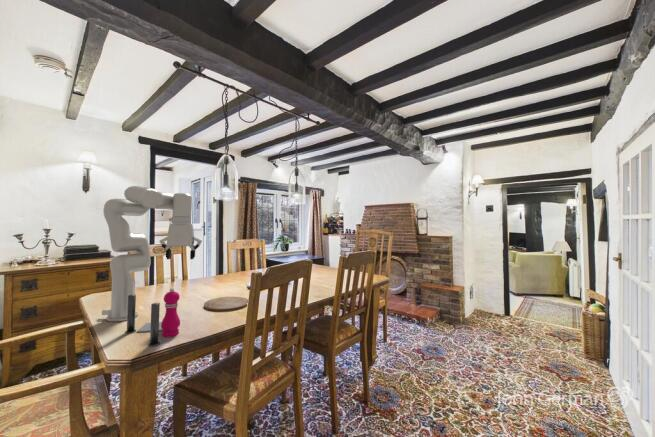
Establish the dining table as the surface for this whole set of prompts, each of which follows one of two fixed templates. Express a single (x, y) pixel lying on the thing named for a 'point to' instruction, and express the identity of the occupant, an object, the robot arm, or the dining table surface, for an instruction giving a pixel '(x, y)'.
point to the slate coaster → (148, 328)
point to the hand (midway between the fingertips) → (180, 259)
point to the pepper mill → (171, 315)
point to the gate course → (154, 320)
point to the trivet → (226, 304)
